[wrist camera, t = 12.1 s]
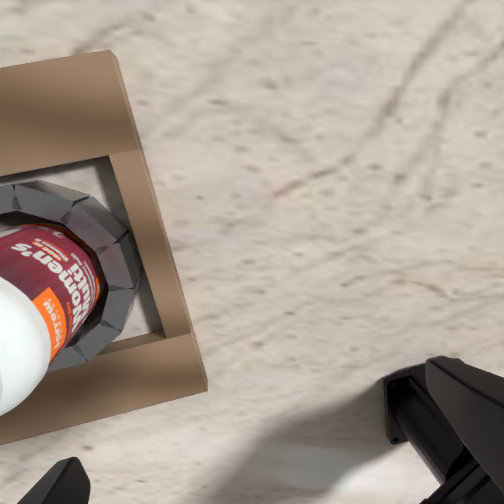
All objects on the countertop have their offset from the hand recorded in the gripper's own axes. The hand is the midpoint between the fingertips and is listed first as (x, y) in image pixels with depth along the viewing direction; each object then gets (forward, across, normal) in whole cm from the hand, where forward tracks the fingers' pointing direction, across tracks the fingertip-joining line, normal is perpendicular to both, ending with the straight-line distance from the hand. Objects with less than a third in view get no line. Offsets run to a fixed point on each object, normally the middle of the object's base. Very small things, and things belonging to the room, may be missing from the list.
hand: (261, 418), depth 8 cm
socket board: (+12, +10, -2) cm, 16 cm away
